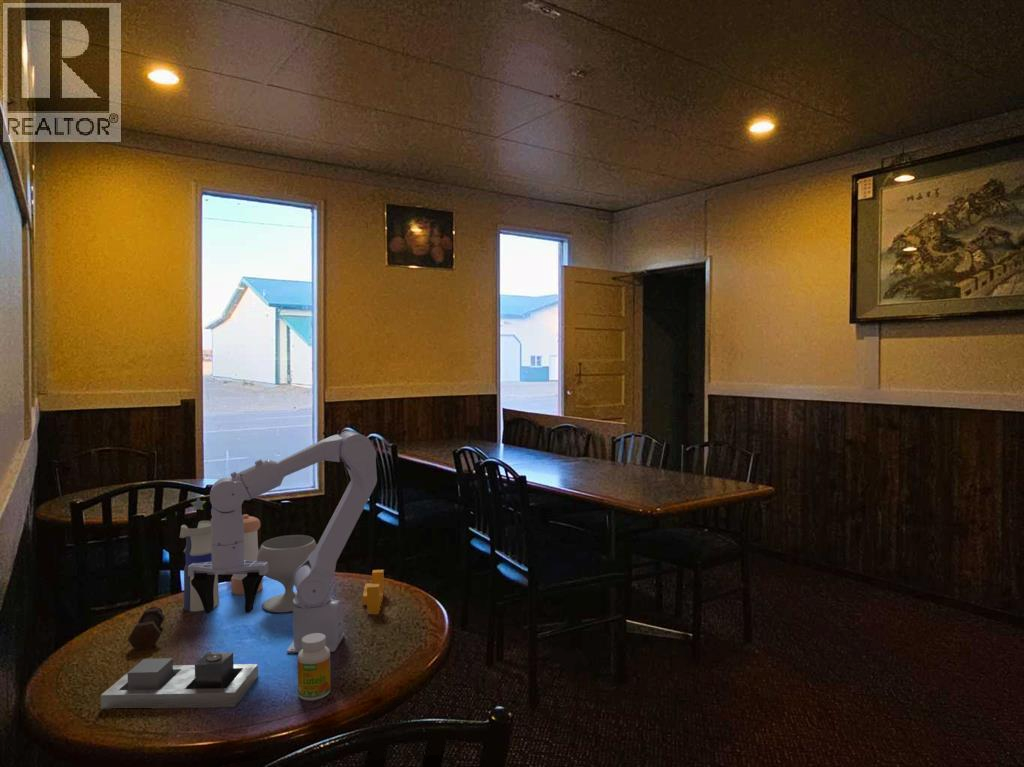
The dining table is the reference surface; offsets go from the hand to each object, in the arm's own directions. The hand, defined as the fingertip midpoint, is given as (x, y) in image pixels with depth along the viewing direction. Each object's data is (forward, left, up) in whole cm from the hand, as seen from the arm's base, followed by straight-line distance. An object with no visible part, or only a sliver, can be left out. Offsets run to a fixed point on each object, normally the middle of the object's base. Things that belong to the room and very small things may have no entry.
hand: (229, 611), depth 121 cm
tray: (+3, +12, -9) cm, 16 cm away
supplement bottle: (-20, +13, -10) cm, 26 cm away
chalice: (-2, -28, -10) cm, 30 cm away
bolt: (+22, -12, -10) cm, 27 cm away
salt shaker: (+12, -38, -10) cm, 41 cm away
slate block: (+9, +12, -10) cm, 18 cm away
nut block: (-2, +12, -10) cm, 16 cm away
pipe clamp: (-22, -27, -10) cm, 36 cm away
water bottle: (+19, -28, -10) cm, 35 cm away
